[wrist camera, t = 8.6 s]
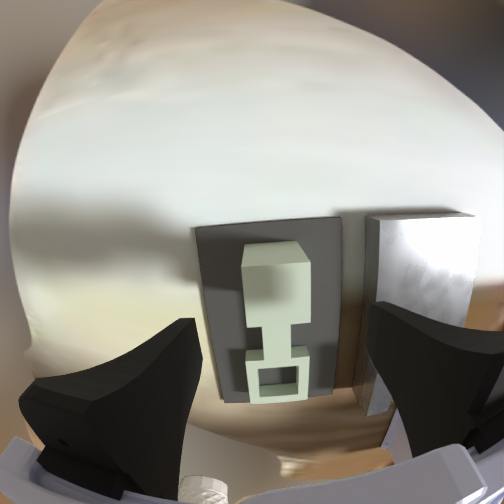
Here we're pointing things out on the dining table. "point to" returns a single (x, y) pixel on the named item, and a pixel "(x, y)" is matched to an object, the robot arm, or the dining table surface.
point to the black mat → (233, 306)
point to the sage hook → (277, 315)
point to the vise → (414, 280)
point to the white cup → (202, 490)
